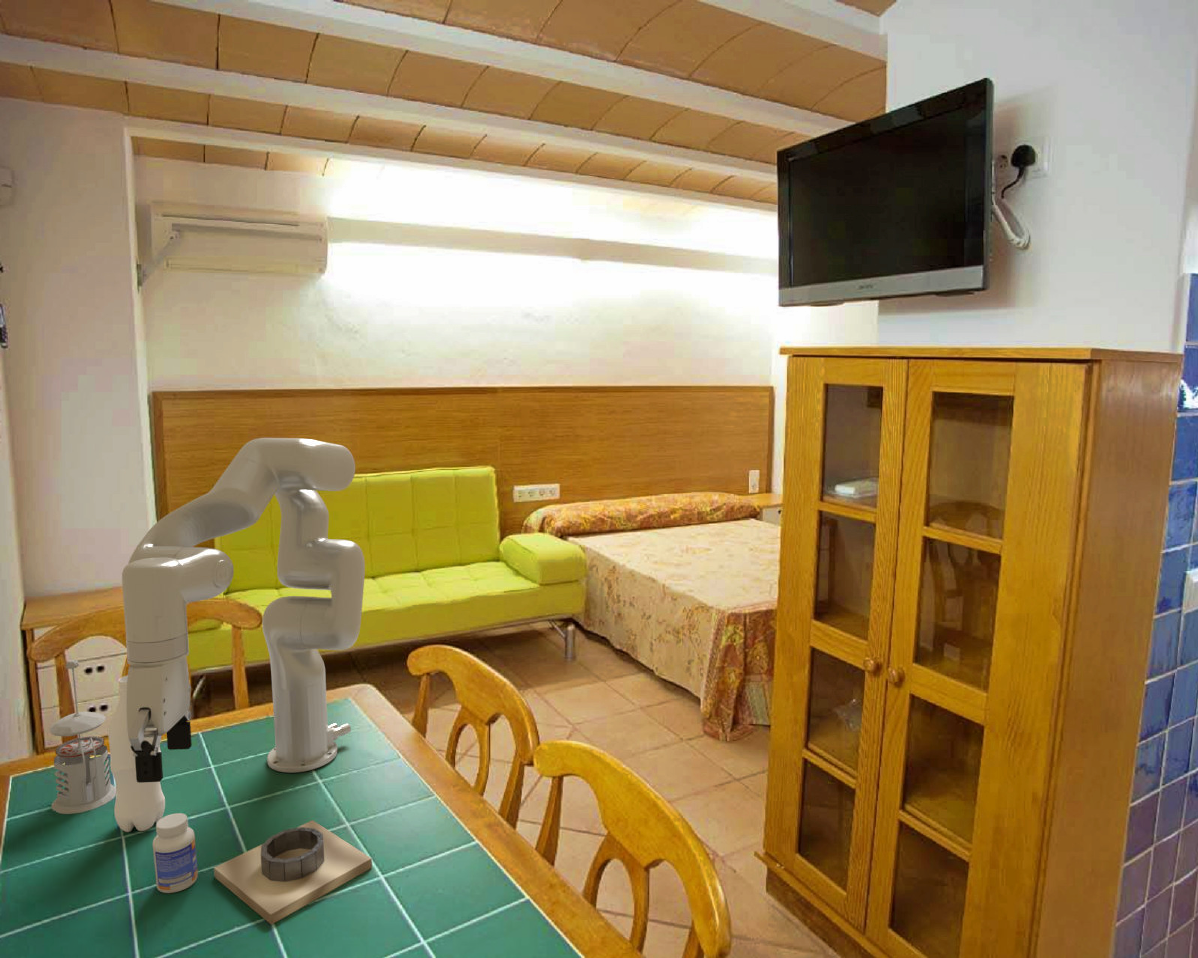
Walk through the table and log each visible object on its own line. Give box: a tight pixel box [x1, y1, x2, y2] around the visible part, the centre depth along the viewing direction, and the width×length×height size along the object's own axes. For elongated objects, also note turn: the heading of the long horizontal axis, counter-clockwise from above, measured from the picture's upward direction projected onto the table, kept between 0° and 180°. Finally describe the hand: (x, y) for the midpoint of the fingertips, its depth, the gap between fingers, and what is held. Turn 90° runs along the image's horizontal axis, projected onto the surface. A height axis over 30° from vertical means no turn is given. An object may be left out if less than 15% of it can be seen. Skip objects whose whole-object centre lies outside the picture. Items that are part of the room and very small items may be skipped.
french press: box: [49, 659, 116, 815], centre depth 137 cm, size 10×12×25 cm
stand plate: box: [213, 820, 373, 925], centre depth 119 cm, size 16×16×2 cm
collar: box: [261, 826, 324, 882], centre depth 119 cm, size 9×9×3 cm
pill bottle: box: [152, 812, 199, 894], centre depth 116 cm, size 5×5×10 cm
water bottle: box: [107, 675, 166, 833], centre depth 130 cm, size 7×7×25 cm
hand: (165, 764), depth 114 cm, fingers open, 9 cm apart
